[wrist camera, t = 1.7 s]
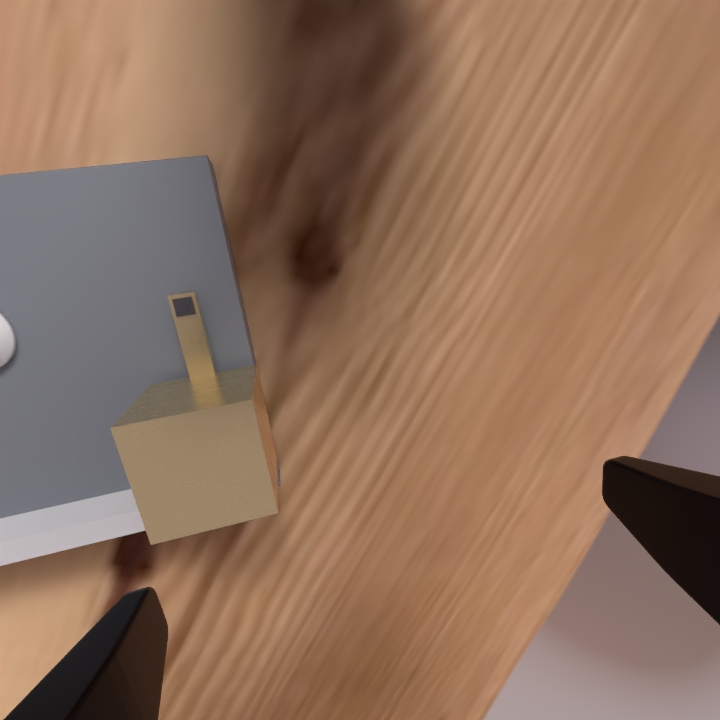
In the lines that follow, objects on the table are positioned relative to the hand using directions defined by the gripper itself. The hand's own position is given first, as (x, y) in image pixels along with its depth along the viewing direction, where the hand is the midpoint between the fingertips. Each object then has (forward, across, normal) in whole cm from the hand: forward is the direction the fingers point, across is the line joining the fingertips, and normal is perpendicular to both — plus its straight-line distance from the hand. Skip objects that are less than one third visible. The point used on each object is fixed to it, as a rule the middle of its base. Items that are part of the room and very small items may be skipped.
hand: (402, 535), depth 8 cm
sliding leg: (+11, +5, -1) cm, 12 cm away
